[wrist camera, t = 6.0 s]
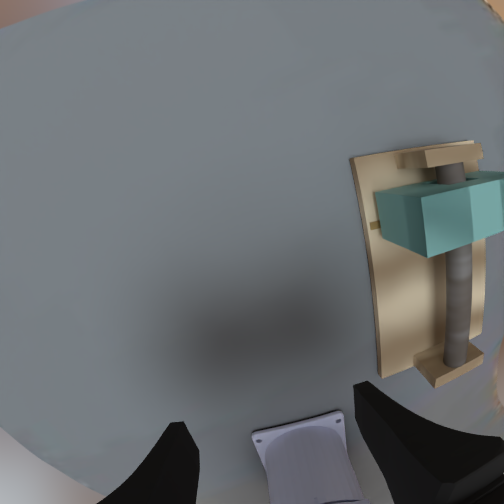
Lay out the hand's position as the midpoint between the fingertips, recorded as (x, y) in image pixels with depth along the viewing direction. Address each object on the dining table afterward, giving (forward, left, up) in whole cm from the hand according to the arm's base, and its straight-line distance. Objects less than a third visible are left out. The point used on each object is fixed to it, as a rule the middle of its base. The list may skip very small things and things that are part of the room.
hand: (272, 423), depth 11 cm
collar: (+5, -14, -8) cm, 17 cm away
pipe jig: (+1, -14, -10) cm, 17 cm away
